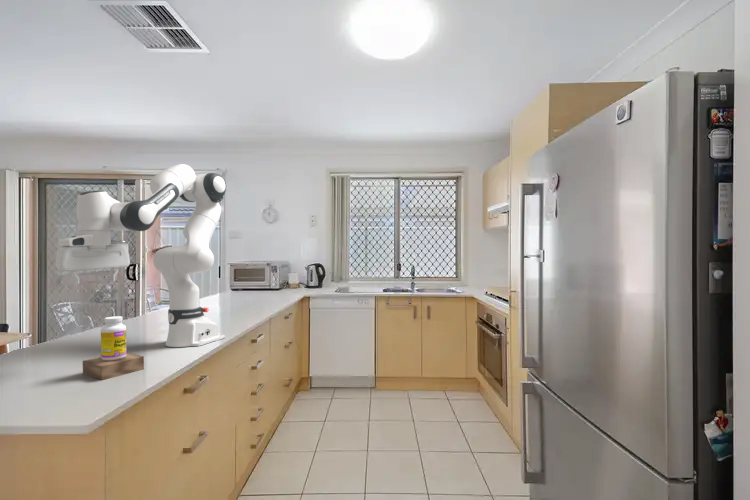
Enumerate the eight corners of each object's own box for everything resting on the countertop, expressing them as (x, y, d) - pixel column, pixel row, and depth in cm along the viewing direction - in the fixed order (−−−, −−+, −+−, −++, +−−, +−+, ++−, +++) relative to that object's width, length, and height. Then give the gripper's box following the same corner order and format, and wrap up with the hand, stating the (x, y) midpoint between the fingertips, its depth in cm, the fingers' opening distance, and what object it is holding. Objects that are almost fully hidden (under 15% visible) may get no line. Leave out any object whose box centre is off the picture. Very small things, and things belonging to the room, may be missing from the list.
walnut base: (124, 363, 132) (124, 351, 132) (143, 369, 125) (143, 356, 125) (82, 373, 121) (82, 360, 121) (101, 380, 115) (101, 366, 115)
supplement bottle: (114, 362, 120) (113, 319, 119) (95, 361, 121) (94, 319, 121) (131, 355, 126) (131, 315, 126) (114, 355, 127) (113, 315, 127)
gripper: (123, 240, 138) (124, 279, 139) (52, 240, 121) (54, 285, 121) (133, 240, 135) (134, 280, 135) (62, 240, 117) (63, 286, 118)
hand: (95, 283), depth 128 cm, fingers open, 8 cm apart
